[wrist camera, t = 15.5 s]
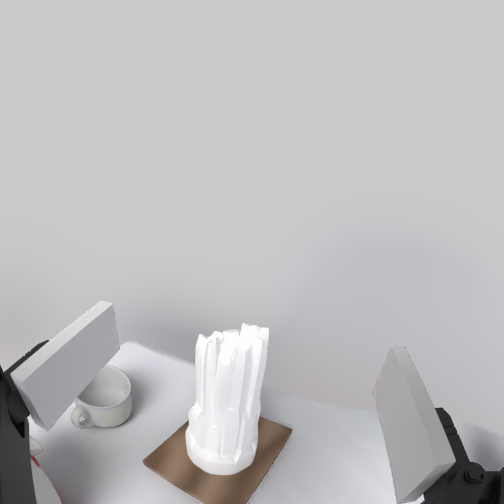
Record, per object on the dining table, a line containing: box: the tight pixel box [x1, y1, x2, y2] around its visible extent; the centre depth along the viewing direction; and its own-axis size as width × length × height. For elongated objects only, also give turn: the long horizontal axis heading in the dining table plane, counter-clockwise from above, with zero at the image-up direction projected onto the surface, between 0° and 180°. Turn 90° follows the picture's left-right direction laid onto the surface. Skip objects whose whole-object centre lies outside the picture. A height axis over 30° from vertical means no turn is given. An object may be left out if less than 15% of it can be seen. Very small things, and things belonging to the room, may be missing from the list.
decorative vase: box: [185, 322, 269, 475], centre depth 34 cm, size 11×11×25 cm
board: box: [143, 416, 292, 504], centre depth 38 cm, size 16×20×1 cm
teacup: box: [71, 365, 132, 429], centre depth 38 cm, size 14×11×8 cm
